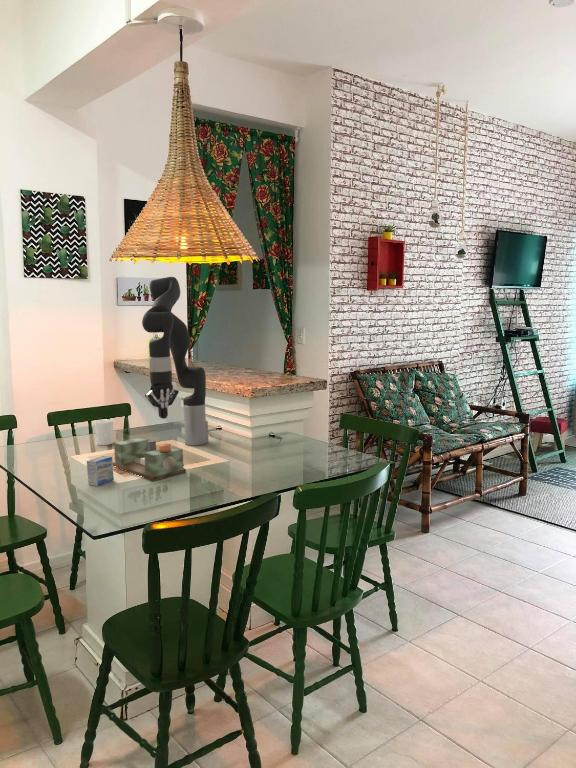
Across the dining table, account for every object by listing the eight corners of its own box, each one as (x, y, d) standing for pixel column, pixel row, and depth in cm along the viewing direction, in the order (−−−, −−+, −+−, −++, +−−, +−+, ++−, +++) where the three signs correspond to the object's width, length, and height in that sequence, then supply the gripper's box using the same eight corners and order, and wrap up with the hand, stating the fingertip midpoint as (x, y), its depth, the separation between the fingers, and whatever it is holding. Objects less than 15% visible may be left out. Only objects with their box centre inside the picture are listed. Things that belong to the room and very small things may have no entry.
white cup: (106, 440, 284) (105, 418, 282) (118, 442, 279) (116, 420, 278) (92, 444, 278) (90, 421, 276) (103, 446, 273) (102, 423, 272)
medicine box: (97, 486, 216) (95, 461, 215) (87, 485, 218) (86, 460, 217) (114, 480, 223) (112, 456, 222) (104, 478, 225) (103, 455, 224)
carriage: (159, 463, 237) (158, 438, 236) (168, 466, 233) (167, 441, 231) (140, 467, 232) (139, 442, 230) (149, 470, 227) (148, 445, 226)
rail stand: (145, 459, 250) (144, 436, 249) (186, 473, 230) (185, 448, 229) (112, 466, 241) (111, 443, 240) (152, 481, 220) (151, 456, 219)
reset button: (166, 448, 228) (166, 443, 228) (173, 450, 225) (172, 445, 225) (157, 450, 226) (156, 445, 225) (163, 452, 223) (163, 447, 222)
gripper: (170, 366, 229) (173, 413, 232) (138, 370, 220) (141, 419, 223) (182, 368, 224) (185, 416, 227) (150, 372, 215) (152, 422, 218)
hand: (163, 418), depth 225 cm, fingers closed
